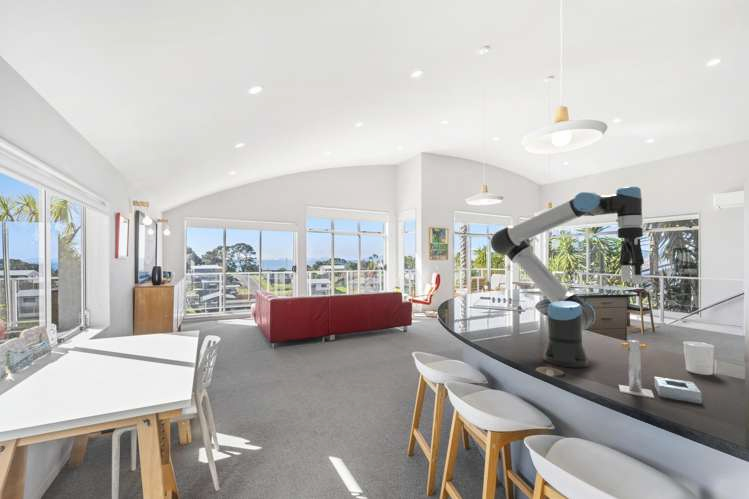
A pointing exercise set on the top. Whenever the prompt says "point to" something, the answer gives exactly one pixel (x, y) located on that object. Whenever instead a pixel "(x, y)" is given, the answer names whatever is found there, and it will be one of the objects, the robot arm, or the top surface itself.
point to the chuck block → (677, 390)
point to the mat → (644, 392)
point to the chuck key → (634, 364)
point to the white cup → (699, 357)
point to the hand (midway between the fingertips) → (631, 282)
